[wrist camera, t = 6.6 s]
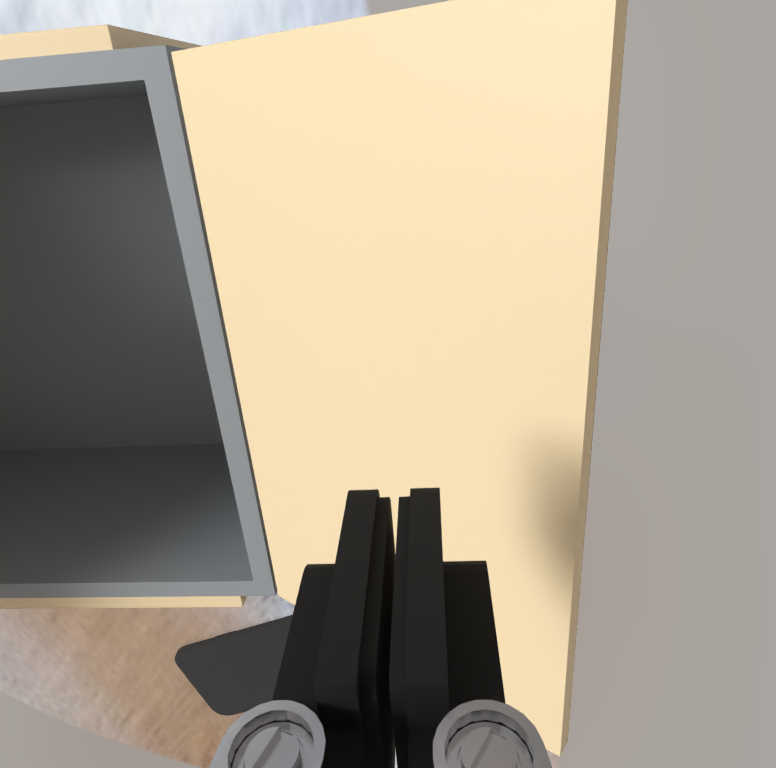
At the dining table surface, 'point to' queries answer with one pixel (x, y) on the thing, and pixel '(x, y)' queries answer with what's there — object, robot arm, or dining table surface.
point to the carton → (113, 342)
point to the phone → (236, 666)
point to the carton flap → (422, 286)
